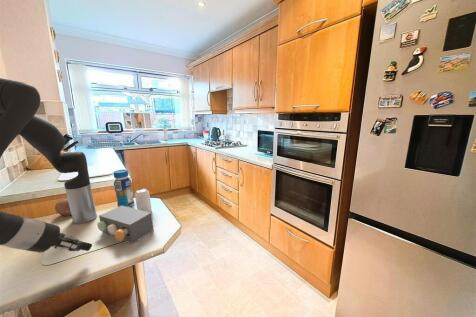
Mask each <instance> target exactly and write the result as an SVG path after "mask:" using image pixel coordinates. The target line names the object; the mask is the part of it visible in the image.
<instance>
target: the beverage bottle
mask: <svg viewBox="0 0 476 317" xmlns="http://www.w3.org/2000/svg"><path fill="white" fill-rule="evenodd" d="M112 173H113V174H112V175H113V177H114V179H115V180H114V181H113V186H114V187H113V189H114V192H115V198H116V204H117V207H119V206H126V207H130V208H131V206H134V204H135V199H134V194H133V184H132V181H131V179H130V178H129V171H128V169H118V170H115V171H113V172H112Z"/></svg>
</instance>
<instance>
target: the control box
mask: <svg viewBox="0 0 476 317" xmlns="http://www.w3.org/2000/svg"><path fill="white" fill-rule="evenodd" d="M98 218H99V222H100V221H103V220H104V221H106V222H107V225H108V226H109V225H111V224H116V225H117V227H118V230H119V229H121V230H123V229H125V228H128V230H129V233H128V234H127V235H125V238H124V239H123V240H122V241H125V242H128V243H131V244H134V243H136V242H137V241H139V240H140V239H142V238H143V237H145V236H146V235H148V234H150V233H151V232H152V231H154V223H153V217H152V212H146V211H142V210H138V209H137V208H132V207H131V206H130V207H126V206H119V207H118V206H117V207H115V208H114V209H110V210H108V211H106V212H104V213H102V214H100V215H99V216H98ZM101 233H103V234H106V235H108V236H112V237H113V238H115V236H114V234H113V235H111V234H110V233H109V232H108V229H106V230H104V231H101Z"/></svg>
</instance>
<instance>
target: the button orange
mask: <svg viewBox="0 0 476 317" xmlns="http://www.w3.org/2000/svg"><path fill="white" fill-rule="evenodd" d="M127 234H129V230H128V228H125V229H123V230H121V229H119V230H117V231H115V232H114V236H115V237H114V238H115V240H116V241H117V242H121V241H124V240H123V239H124V238H125V235H127Z"/></svg>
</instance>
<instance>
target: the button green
mask: <svg viewBox="0 0 476 317" xmlns="http://www.w3.org/2000/svg"><path fill="white" fill-rule="evenodd" d="M107 227H108V225H107V222H106V221H104V220H103V221H100V220H99V222H97V229H98V230H99V231H100V232H102V231H104V230H106V229H107Z"/></svg>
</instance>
